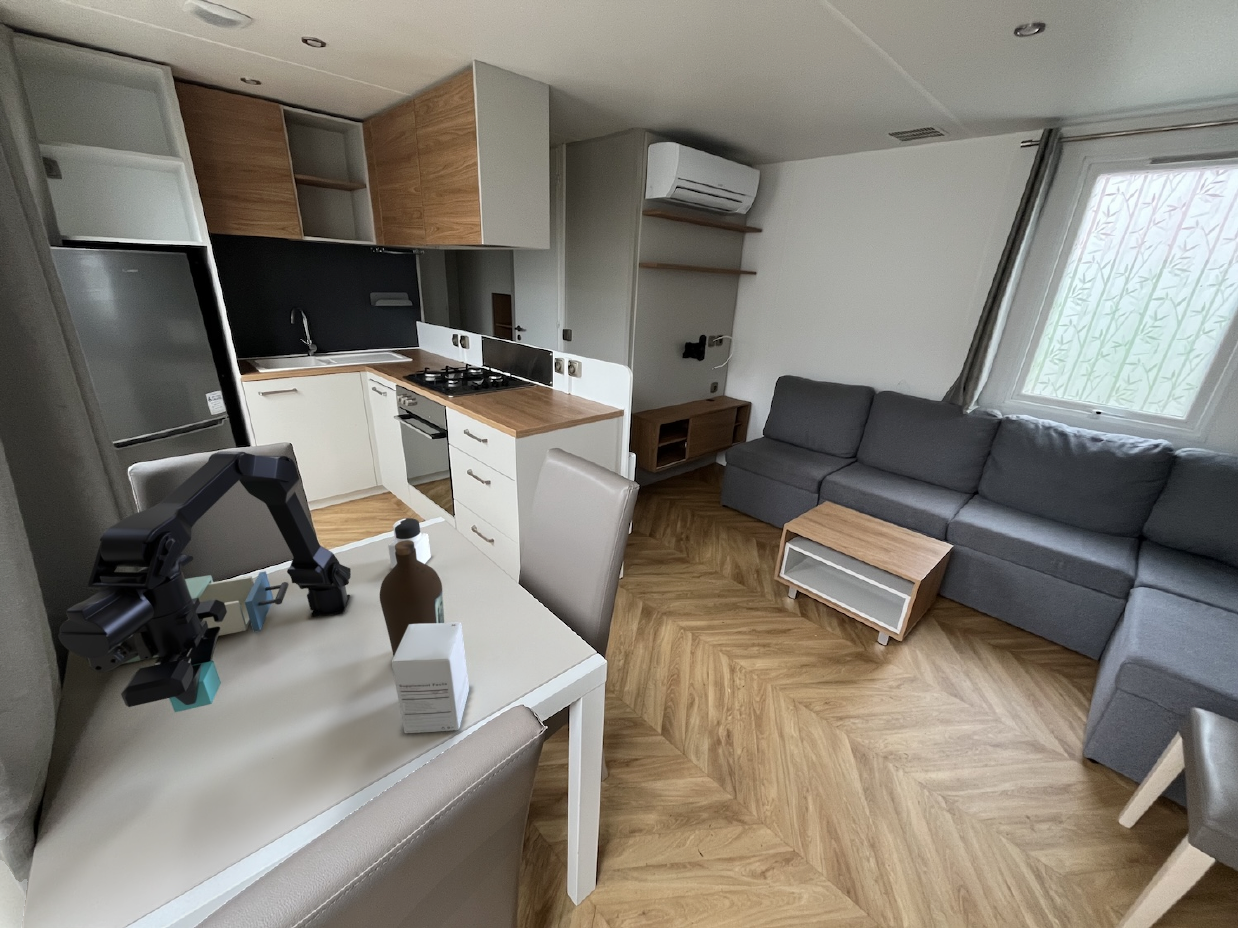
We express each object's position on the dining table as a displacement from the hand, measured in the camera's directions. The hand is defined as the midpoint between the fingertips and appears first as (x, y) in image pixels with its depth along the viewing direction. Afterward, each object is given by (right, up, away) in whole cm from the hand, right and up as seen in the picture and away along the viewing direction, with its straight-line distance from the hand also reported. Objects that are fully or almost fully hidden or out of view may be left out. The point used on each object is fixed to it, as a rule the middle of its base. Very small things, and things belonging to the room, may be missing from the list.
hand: (196, 691), depth 74 cm
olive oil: (+25, -3, +22) cm, 33 cm away
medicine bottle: (+10, +8, +53) cm, 54 cm away
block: (0, -1, 0) cm, 1 cm away
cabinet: (-28, -1, +26) cm, 38 cm away
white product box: (+33, -8, +10) cm, 35 cm away
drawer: (-16, +2, +30) cm, 34 cm away
